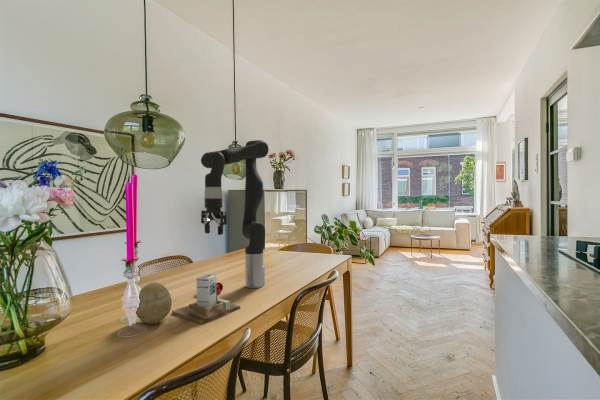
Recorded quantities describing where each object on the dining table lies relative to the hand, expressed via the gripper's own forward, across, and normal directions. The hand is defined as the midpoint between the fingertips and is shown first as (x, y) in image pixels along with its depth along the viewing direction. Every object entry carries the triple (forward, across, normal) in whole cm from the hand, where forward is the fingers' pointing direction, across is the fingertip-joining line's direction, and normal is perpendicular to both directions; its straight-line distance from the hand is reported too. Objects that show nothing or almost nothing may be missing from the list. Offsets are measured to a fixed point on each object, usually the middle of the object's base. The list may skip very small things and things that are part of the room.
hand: (213, 233), depth 147 cm
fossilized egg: (+30, 0, -29) cm, 42 cm away
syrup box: (+29, +11, -13) cm, 34 cm away
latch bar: (+29, +11, -7) cm, 31 cm away
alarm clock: (+31, -12, +8) cm, 34 cm away
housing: (+30, +7, -10) cm, 32 cm away
